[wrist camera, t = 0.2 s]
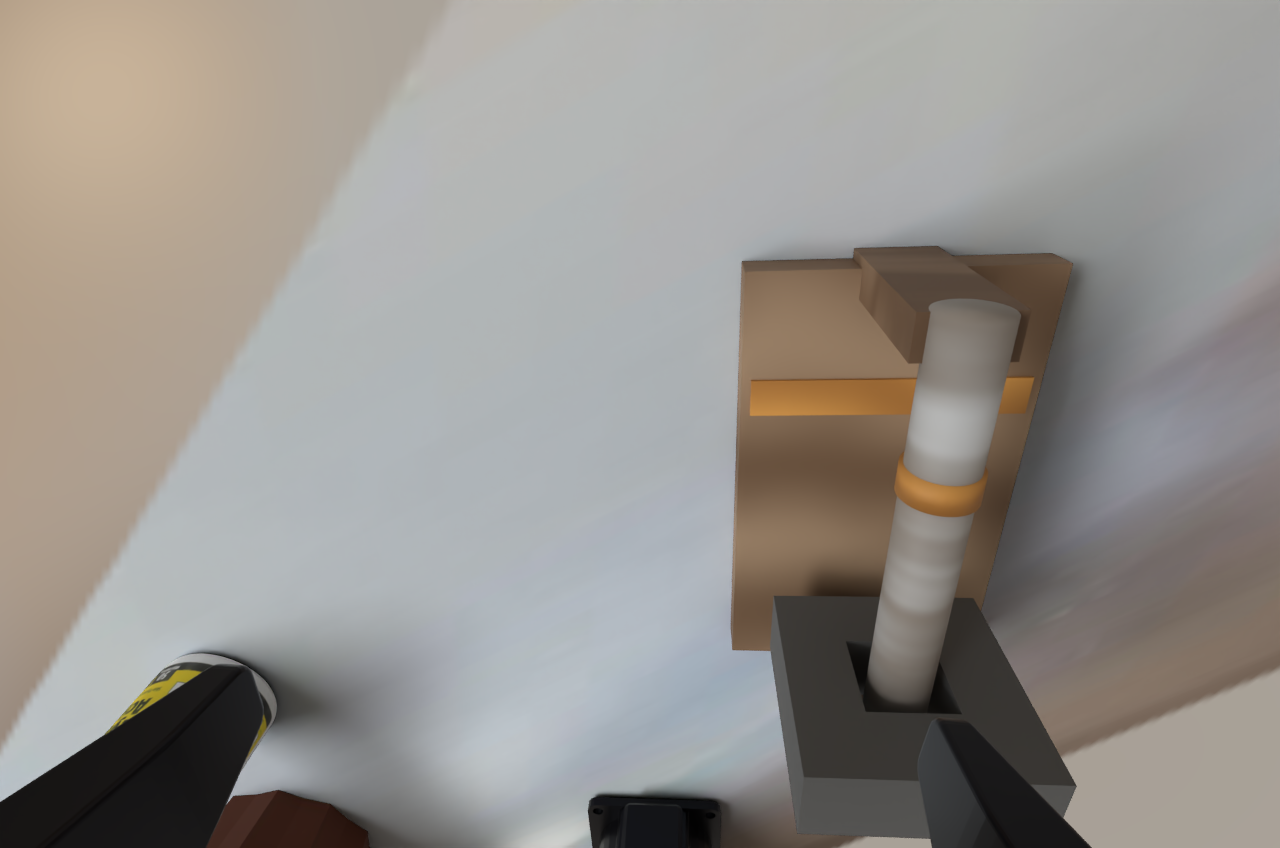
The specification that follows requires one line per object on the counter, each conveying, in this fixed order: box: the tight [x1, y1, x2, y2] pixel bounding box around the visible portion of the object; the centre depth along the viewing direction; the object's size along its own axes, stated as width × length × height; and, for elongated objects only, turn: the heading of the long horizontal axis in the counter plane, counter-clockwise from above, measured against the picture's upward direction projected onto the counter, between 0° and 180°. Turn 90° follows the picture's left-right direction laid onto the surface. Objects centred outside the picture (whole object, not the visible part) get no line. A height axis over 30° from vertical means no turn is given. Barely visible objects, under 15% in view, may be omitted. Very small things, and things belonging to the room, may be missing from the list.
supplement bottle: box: [105, 653, 277, 771], centre depth 26 cm, size 5×5×10 cm
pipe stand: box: [731, 246, 1073, 713], centre depth 20 cm, size 16×9×7 cm, turn 2°
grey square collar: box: [770, 596, 1076, 839], centre depth 20 cm, size 2×7×7 cm, turn 92°
